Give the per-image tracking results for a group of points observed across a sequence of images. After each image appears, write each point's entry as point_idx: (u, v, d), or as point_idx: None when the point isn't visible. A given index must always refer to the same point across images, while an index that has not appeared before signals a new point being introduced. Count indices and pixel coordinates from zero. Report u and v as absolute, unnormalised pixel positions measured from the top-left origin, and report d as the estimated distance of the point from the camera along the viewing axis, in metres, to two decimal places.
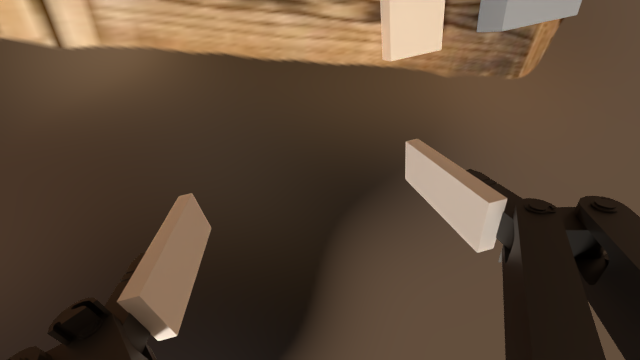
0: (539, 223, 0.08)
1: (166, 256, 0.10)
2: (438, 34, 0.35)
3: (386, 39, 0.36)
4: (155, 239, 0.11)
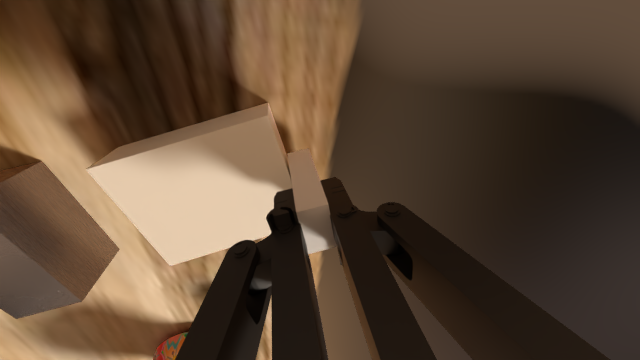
0: (349, 225, 0.10)
1: None
2: (234, 137, 0.13)
3: None
4: (293, 178, 0.13)
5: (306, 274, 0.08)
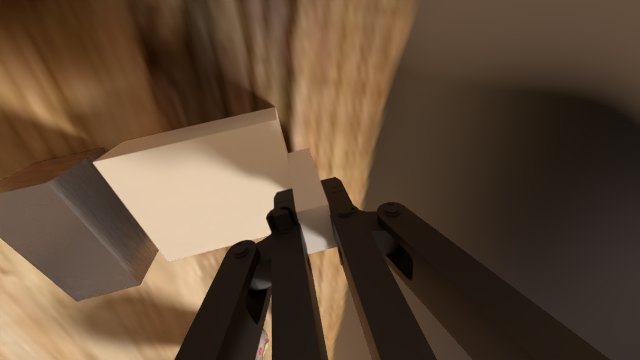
0: (350, 225, 0.10)
1: None
2: (242, 138, 0.14)
3: None
4: (292, 178, 0.13)
5: (306, 274, 0.08)
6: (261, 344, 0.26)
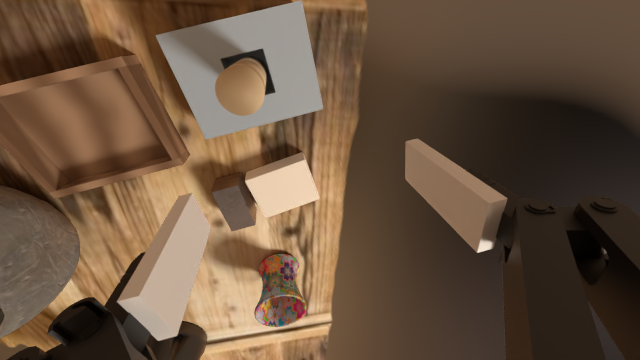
0: (539, 223, 0.08)
1: (166, 256, 0.10)
2: (293, 167, 0.38)
3: None
4: (155, 239, 0.11)
5: None
6: (296, 266, 0.51)
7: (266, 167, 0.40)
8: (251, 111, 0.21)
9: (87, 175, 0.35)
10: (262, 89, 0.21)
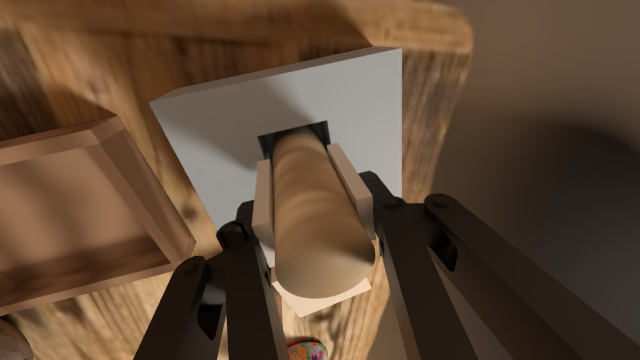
0: (395, 217, 0.09)
1: (270, 201, 0.12)
2: None
3: None
4: (257, 189, 0.13)
5: (262, 287, 0.08)
6: (325, 357, 0.40)
7: None
8: (340, 290, 0.10)
9: (44, 275, 0.24)
10: (371, 257, 0.10)
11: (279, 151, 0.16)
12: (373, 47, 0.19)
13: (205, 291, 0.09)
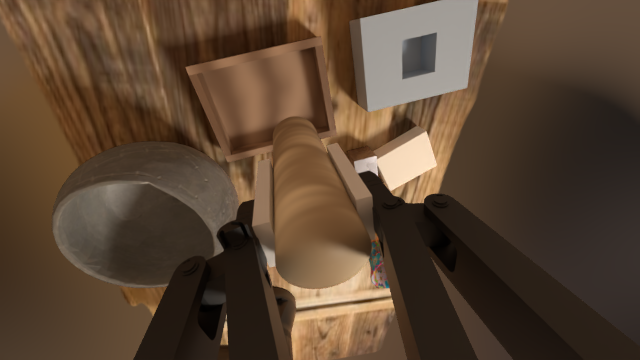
0: (395, 217, 0.09)
1: (271, 201, 0.12)
2: (416, 140, 0.43)
3: None
4: (257, 189, 0.13)
5: (262, 287, 0.08)
6: None
7: (388, 145, 0.45)
8: (338, 281, 0.11)
9: (248, 143, 0.40)
10: (368, 249, 0.10)
11: (279, 148, 0.16)
12: None
13: (205, 291, 0.09)
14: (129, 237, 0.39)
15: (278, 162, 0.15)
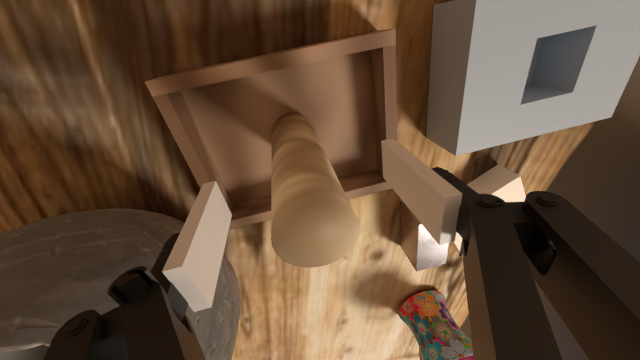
0: (490, 216, 0.09)
1: (199, 235, 0.11)
2: (503, 190, 0.28)
3: None
4: (188, 220, 0.12)
5: (175, 334, 0.07)
6: (446, 306, 0.41)
7: None
8: (329, 260, 0.12)
9: (257, 197, 0.26)
10: (356, 230, 0.11)
11: (277, 141, 0.17)
12: None
13: None
14: None
15: (276, 154, 0.16)
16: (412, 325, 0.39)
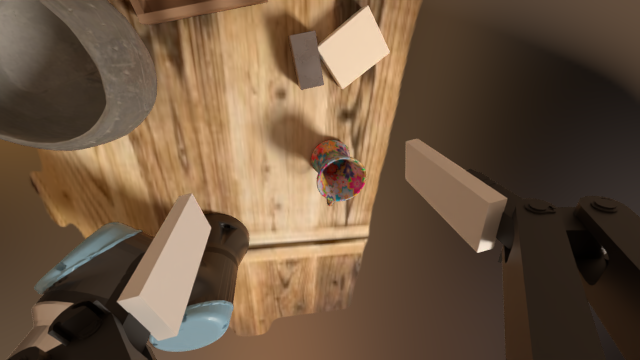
0: (539, 223, 0.08)
1: (166, 256, 0.10)
2: (358, 18, 0.38)
3: None
4: (155, 239, 0.11)
5: None
6: (348, 154, 0.51)
7: (331, 33, 0.41)
8: None
9: None
10: None
11: None
12: None
13: None
14: (27, 108, 0.34)
15: None
16: (317, 163, 0.49)
